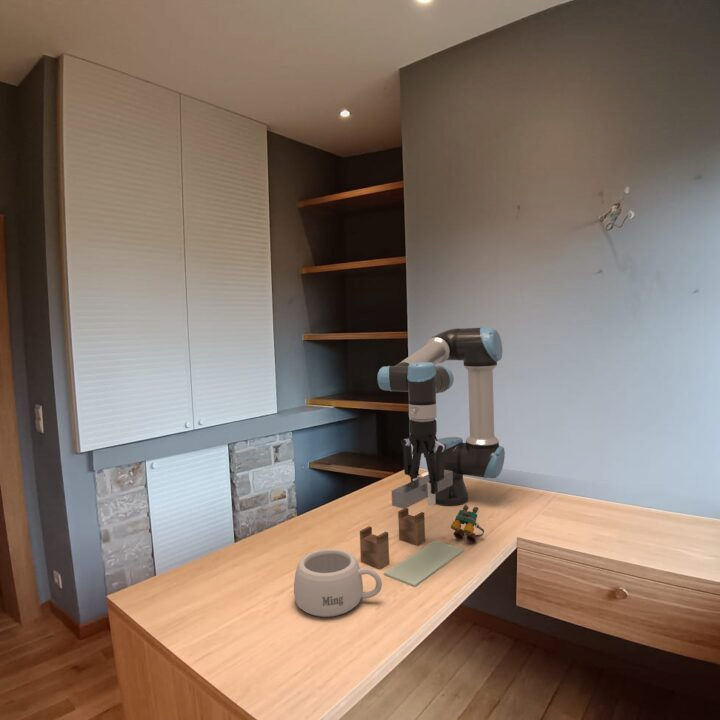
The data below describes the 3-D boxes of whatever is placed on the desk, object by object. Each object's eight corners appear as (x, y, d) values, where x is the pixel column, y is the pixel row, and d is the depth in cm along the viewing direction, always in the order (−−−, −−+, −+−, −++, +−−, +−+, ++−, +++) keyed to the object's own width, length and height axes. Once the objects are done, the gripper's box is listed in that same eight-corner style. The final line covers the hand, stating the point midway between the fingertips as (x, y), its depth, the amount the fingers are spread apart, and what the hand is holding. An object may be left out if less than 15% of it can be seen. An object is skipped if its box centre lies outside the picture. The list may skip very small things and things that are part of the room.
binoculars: (453, 542, 150) (444, 522, 146) (463, 519, 156) (455, 498, 151) (481, 550, 145) (473, 529, 140) (491, 525, 150) (484, 504, 146)
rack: (360, 562, 135) (359, 530, 135) (406, 535, 152) (405, 507, 151) (380, 569, 131) (379, 537, 130) (425, 541, 147) (424, 512, 146)
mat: (384, 574, 128) (383, 572, 128) (434, 541, 147) (434, 540, 146) (415, 587, 121) (415, 585, 121) (464, 550, 140) (464, 549, 140)
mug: (284, 618, 110) (283, 576, 109) (305, 580, 126) (303, 543, 125) (377, 625, 106) (376, 581, 105) (386, 585, 122) (385, 547, 122)
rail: (391, 505, 125) (391, 490, 125) (440, 482, 143) (440, 468, 143) (404, 509, 122) (404, 493, 122) (452, 484, 140) (452, 471, 140)
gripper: (389, 418, 134) (391, 500, 136) (442, 424, 123) (444, 513, 124) (405, 414, 140) (407, 492, 141) (457, 419, 129) (458, 505, 130)
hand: (424, 502), depth 133 cm, fingers closed on rail, 4 cm apart
